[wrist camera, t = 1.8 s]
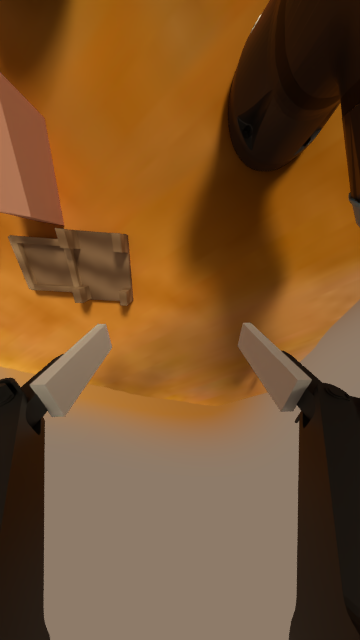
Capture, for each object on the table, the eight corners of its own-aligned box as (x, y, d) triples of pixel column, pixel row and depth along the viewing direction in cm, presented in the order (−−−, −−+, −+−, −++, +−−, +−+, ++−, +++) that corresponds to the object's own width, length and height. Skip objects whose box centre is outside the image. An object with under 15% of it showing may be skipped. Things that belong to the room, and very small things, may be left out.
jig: (14, 225, 27) (-15, 220, 23) (127, 235, 28) (119, 231, 24) (40, 295, 33) (21, 300, 29) (133, 300, 34) (127, 306, 30)
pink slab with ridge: (10, 110, 21) (-97, 18, 13) (45, 118, 21) (-36, 35, 13) (37, 221, 27) (-23, 206, 19) (64, 225, 27) (17, 213, 19)
